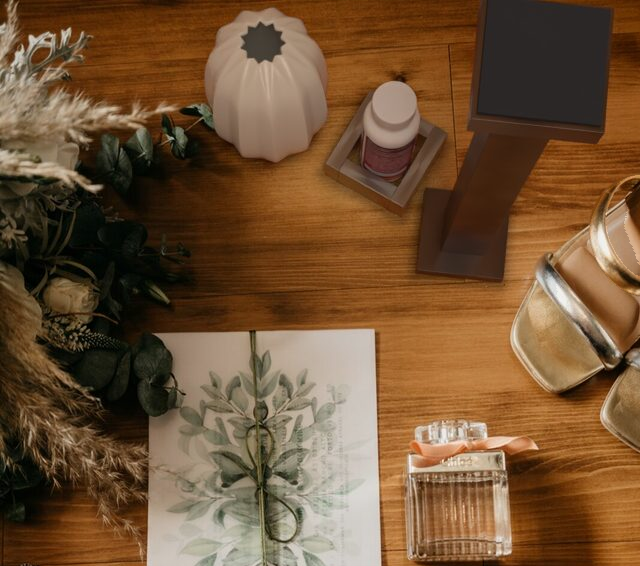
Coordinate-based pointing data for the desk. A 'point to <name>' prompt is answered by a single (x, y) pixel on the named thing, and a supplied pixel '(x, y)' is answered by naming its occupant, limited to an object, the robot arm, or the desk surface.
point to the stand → (373, 185)
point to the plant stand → (489, 182)
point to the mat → (544, 62)
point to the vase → (266, 85)
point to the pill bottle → (389, 131)
